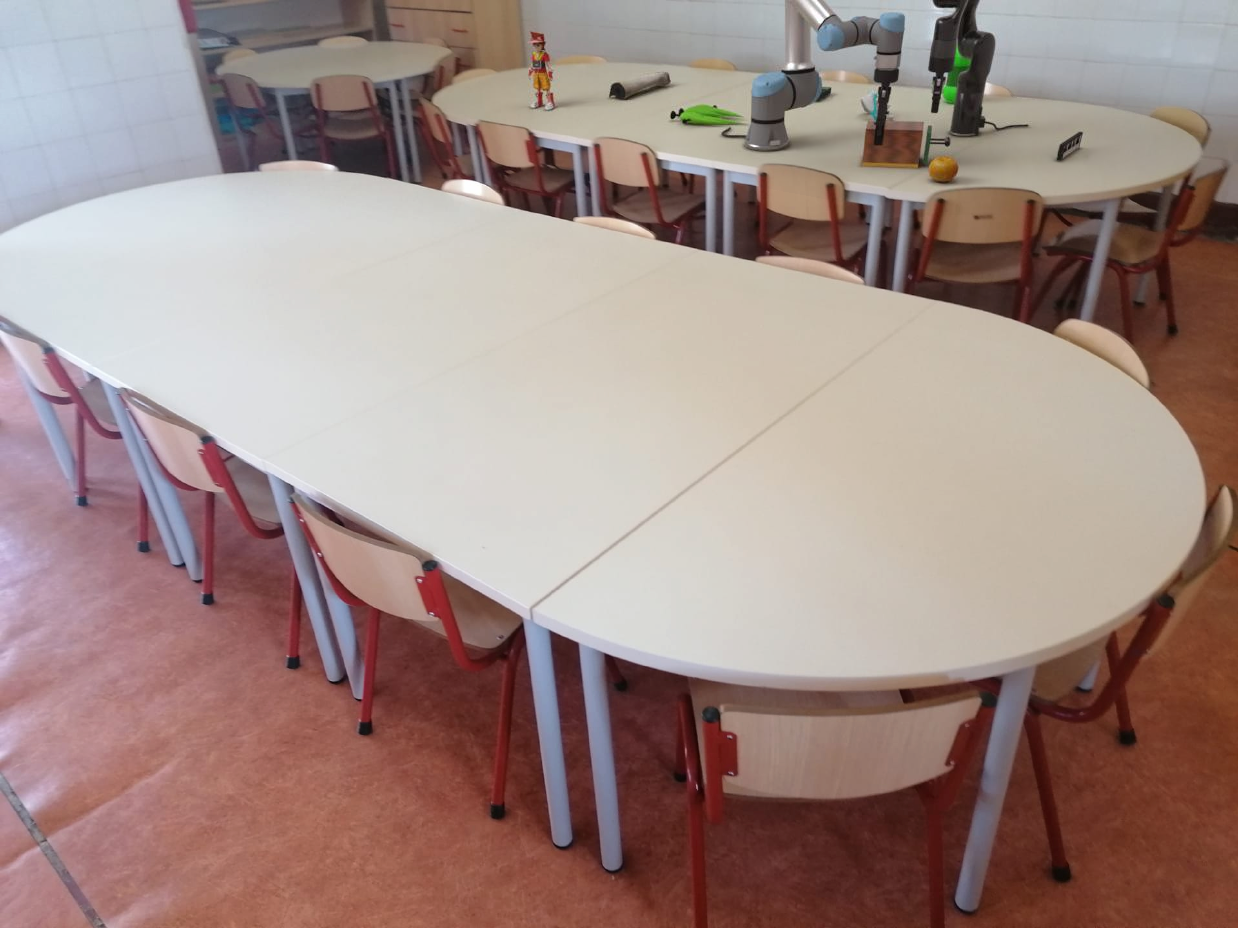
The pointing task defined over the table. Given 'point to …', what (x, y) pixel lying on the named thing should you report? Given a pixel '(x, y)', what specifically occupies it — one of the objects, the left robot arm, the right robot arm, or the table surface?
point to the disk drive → (824, 92)
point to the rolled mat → (638, 84)
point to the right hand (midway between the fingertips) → (934, 109)
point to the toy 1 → (541, 71)
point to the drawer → (927, 145)
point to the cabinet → (894, 144)
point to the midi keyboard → (1069, 145)
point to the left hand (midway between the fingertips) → (879, 140)
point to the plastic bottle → (955, 77)
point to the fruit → (943, 169)
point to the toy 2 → (704, 115)
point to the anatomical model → (872, 105)
